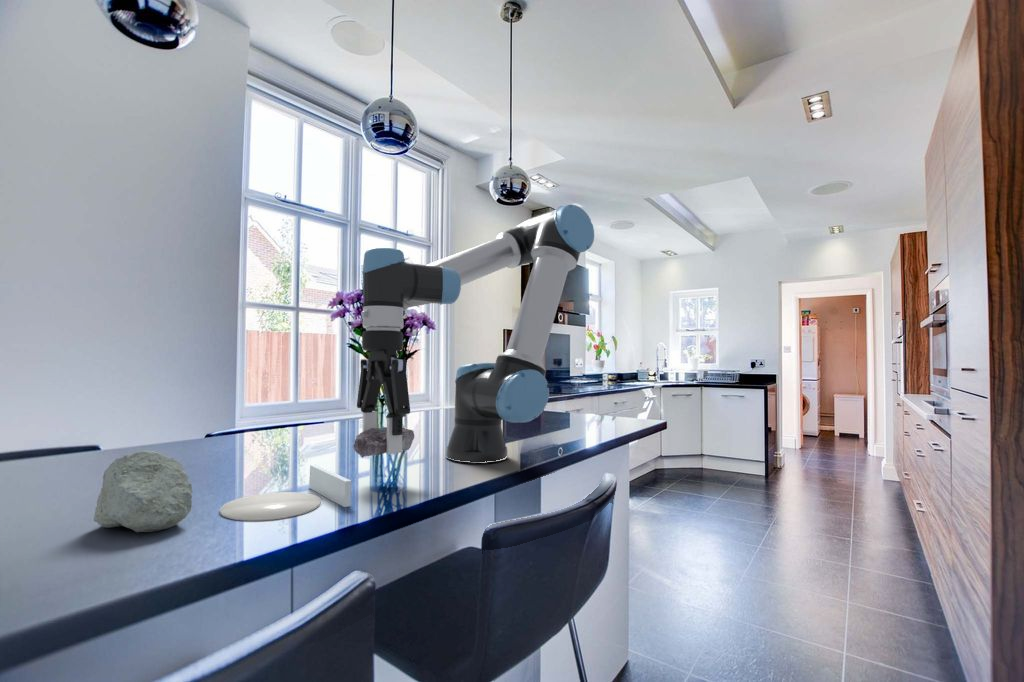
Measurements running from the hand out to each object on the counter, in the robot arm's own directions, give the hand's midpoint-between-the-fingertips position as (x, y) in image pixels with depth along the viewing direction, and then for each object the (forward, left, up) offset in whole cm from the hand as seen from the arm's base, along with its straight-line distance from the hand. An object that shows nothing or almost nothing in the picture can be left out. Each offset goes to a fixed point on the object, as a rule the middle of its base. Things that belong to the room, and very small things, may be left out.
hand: (381, 449), depth 91 cm
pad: (+20, +3, -7) cm, 21 cm away
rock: (0, 0, -1) cm, 1 cm away
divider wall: (+11, +2, -7) cm, 13 cm away
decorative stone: (+36, +2, -7) cm, 36 cm away
